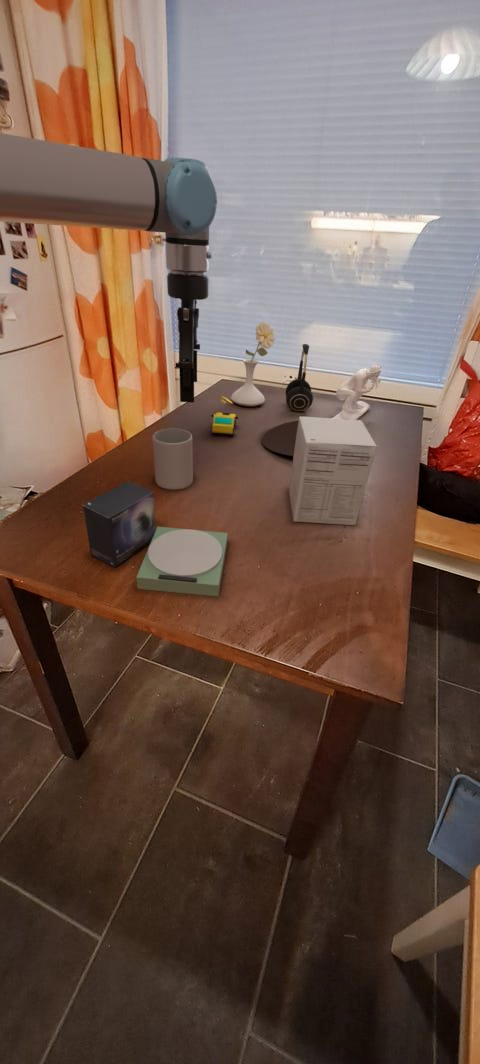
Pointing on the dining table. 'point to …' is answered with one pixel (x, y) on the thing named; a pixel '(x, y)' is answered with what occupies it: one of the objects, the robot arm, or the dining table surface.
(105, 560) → the small box
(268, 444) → the plate
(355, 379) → the figurine
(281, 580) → the dining table surface
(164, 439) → the mug
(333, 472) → the supplement box
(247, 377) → the flower in vase
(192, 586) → the scale
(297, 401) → the headphones
